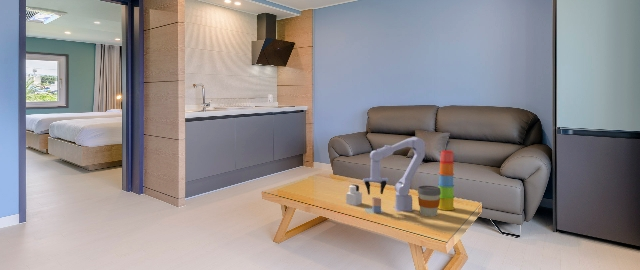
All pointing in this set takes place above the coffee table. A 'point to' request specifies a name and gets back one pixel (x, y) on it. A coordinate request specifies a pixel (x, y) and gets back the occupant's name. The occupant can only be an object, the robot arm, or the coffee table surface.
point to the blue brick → (376, 209)
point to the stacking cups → (446, 181)
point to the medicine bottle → (354, 195)
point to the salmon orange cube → (376, 201)
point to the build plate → (369, 210)
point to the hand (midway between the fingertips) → (375, 193)
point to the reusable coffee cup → (429, 200)
